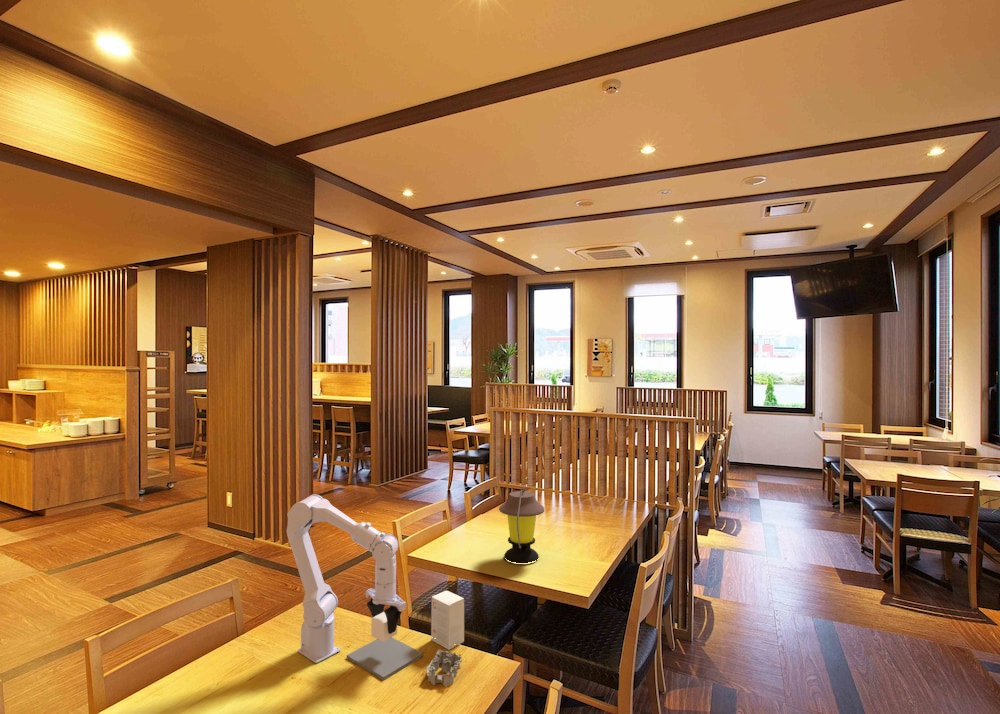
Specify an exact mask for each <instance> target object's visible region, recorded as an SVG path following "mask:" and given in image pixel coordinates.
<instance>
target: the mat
mask: <svg viewBox="0 0 1000 714" xmlns="http://www.w3.org/2000/svg"><path fill="white" fill-rule="evenodd" d="M422 657H424V653H423V652H422V651H419V650H417V649H415V648H414V647H412V646H410V645H408V644H406V643H404V642H401V641H400V640H397V639H396V638H394V637H391V638H389V639H388V640H386V641H384V642H383V641H381V640H379V639H377V638H375V640H373V641H371V642H369V643H368V644H364V645H363V646H361V647H360V648H357V649H356V650H354V651H352V652H349V653H348V654H347V655H346V659H347V658H348V659H347V660H349V661H351V662H352V663H354V664H355V665H357V666H359V667H360V668H362V669H364V670H366V671H367V672H369V673H371V674H372V675H374V676H376V677H378V678H379V679H380V680H383V681H385V680H387V679H388V678H390V677H392V676H393V675H395V674H397V673H398V672H400V671H401V670H403V669H405V668H407V667H408V666H410V665H411V664H413V663H414V662H416V661H417V660H419V659H421V658H422Z"/></svg>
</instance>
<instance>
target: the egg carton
mask: <svg viewBox="0 0 1000 714" xmlns="http://www.w3.org/2000/svg"><path fill="white" fill-rule="evenodd" d="M461 661H462V654H456V652H451V651H448V650H445V651H444V650H442V649H437V651H436V653H435V656H433V658H432V660H431V661H430V663H429V664H428V665H427V666H426V676H427V680H428V682H429V681H430V684H431V685H433V686H435V685H437V684H438V683H439V684H444V685H443V687H448V686H450V685H453V684H454V682H455V677H457V676H458V675H457V674H458V670H459V669H461ZM440 664H441V667H442V669H441V670H442V672H443V673H445V674H436V671H438V670H439V669H440ZM452 666H453V667H452ZM449 684H450V685H449Z"/></svg>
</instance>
